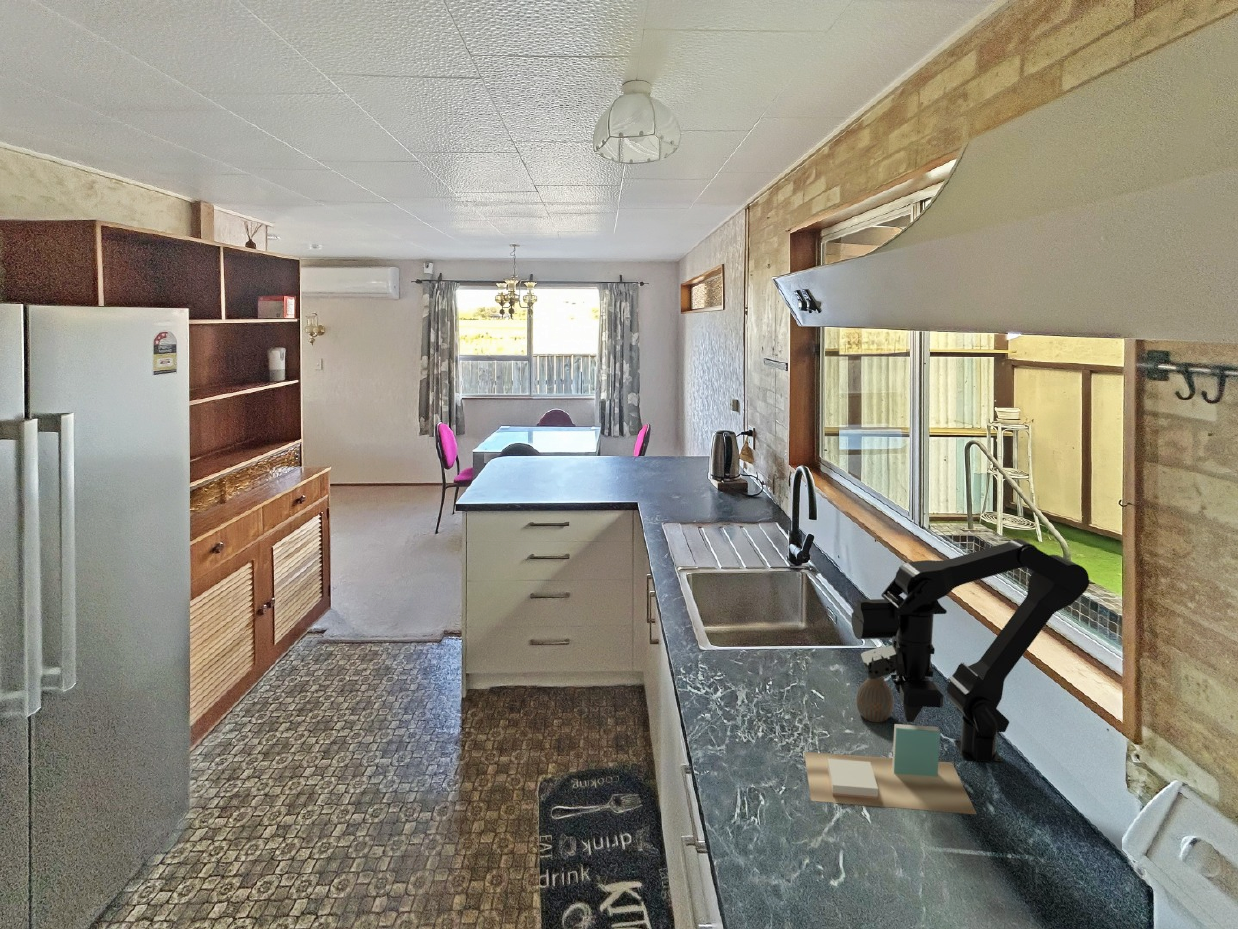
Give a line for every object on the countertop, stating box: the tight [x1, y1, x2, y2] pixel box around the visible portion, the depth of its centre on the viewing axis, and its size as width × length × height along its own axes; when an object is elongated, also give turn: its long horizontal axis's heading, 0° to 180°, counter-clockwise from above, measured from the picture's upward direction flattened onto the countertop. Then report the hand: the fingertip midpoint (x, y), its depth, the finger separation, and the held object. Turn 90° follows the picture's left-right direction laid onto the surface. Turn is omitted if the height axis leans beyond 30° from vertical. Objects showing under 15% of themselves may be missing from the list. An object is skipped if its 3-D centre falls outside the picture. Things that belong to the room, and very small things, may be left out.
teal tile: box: [892, 723, 941, 776], centre depth 134 cm, size 2×7×8 cm, turn 81°
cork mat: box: [803, 751, 977, 815], centre depth 132 cm, size 15×25×1 cm, turn 81°
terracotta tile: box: [827, 759, 878, 799], centre depth 131 cm, size 2×7×8 cm
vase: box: [855, 676, 895, 723], centre depth 153 cm, size 7×7×9 cm
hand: (909, 721), depth 139 cm, fingers closed
